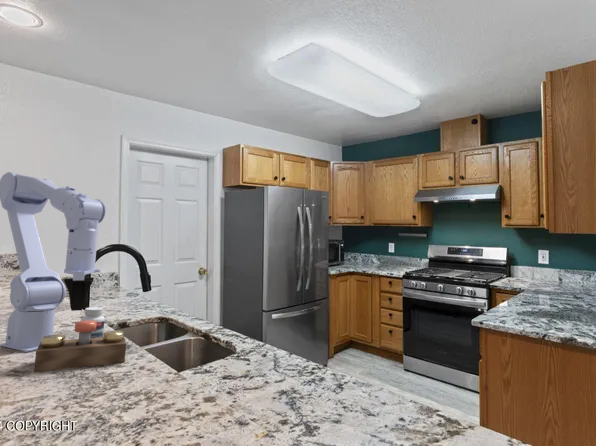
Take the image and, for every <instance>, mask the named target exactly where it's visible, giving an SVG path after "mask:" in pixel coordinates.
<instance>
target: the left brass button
mask: <svg viewBox="0 0 596 446" xmlns="http://www.w3.org/2000/svg"><path fill="white" fill-rule="evenodd" d="M65 340H66V335H65V334H53V335H48V336H44V337H42V344H41V346H42V347H46V348H51V347H59V346H62V345H64V344H65Z"/></svg>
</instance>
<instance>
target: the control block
mask: <svg viewBox="0 0 596 446" xmlns="http://www.w3.org/2000/svg"><path fill="white" fill-rule="evenodd" d="M78 340H79V338H78V339H65V344H64V345H62V346H59V347H51V348H46V347H42V346H41V344H42V342H41V343H40V345H39V347H38V349H37V350H35V358H34V367H33V373H39V372H49V371H50V372H51V371H58V370H66V369H75V368H84V367H85V368H86V367H92V366H93V367H95V366H102V365H112V364H120V363H121V364H122V363H125V360H126V349H127V342H126V339H125V336H124V335H123V340H122V341H119V342H111V343H107V342H103V337H101V338H90V344H87V345H78Z"/></svg>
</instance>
